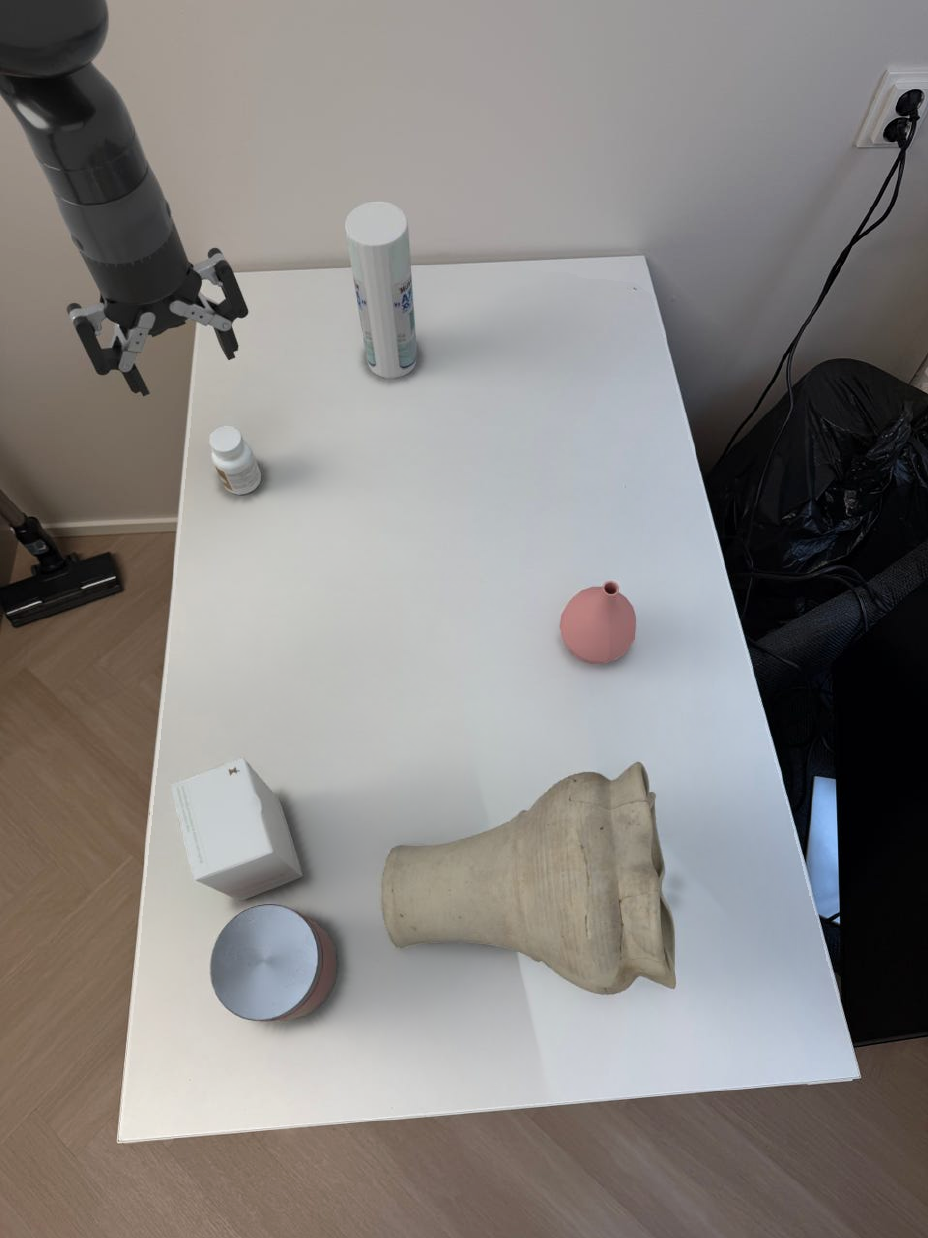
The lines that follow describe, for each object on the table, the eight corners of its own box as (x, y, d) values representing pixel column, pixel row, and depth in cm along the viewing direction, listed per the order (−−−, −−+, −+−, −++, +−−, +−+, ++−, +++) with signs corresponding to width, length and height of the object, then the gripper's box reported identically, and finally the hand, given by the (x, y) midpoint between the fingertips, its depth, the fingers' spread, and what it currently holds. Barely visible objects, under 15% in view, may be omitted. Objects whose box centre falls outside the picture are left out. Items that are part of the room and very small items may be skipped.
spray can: (370, 337, 106) (349, 198, 88) (421, 341, 106) (411, 202, 88) (362, 377, 103) (339, 242, 85) (415, 381, 103) (403, 247, 85)
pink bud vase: (611, 598, 90) (631, 542, 80) (642, 660, 87) (667, 610, 76) (545, 620, 89) (556, 566, 78) (573, 684, 86) (588, 637, 75)
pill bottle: (220, 468, 98) (201, 426, 91) (258, 460, 98) (242, 417, 91) (226, 499, 96) (207, 459, 89) (264, 490, 96) (248, 450, 89)
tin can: (248, 1030, 73) (213, 1033, 63) (238, 928, 76) (204, 916, 66) (345, 1008, 74) (326, 1007, 64) (331, 908, 77) (311, 892, 67)
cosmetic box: (217, 820, 80) (164, 780, 66) (284, 795, 81) (245, 751, 67) (239, 906, 77) (188, 883, 63) (308, 879, 78) (274, 850, 64)
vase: (298, 1045, 61) (696, 1038, 55) (295, 745, 67) (655, 709, 61) (394, 993, 81) (692, 984, 75) (385, 767, 87) (661, 742, 81)
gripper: (190, 164, 67) (240, 316, 82) (16, 228, 64) (100, 373, 79) (227, 221, 64) (272, 368, 79) (47, 290, 61) (128, 429, 76)
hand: (186, 371), depth 79 cm, fingers open, 8 cm apart
